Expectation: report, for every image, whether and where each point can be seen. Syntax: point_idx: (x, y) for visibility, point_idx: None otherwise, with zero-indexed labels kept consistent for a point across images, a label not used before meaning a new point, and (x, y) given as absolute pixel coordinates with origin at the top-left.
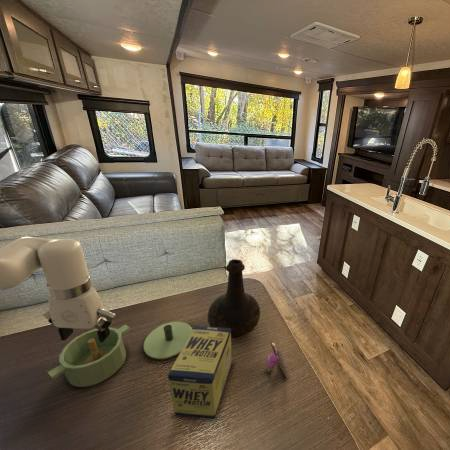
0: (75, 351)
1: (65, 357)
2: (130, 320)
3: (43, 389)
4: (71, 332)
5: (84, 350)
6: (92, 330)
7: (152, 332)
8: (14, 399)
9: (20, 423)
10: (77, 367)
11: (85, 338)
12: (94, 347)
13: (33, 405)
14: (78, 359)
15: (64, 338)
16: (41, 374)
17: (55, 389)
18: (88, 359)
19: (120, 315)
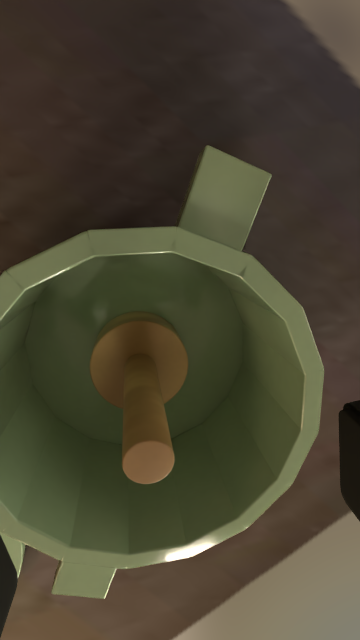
0: (266, 367)
1: (267, 312)
2: (194, 558)
3: (270, 186)
4: (350, 491)
5: (245, 386)
6: (257, 510)
7: (13, 555)
8: (349, 120)
9: (222, 11)
10: (72, 243)
11: (266, 447)
12: (123, 417)
13: (244, 106)
14: (243, 343)
15: (356, 423)
16: (340, 248)
17: None
18: (175, 350)
19: (258, 562)
